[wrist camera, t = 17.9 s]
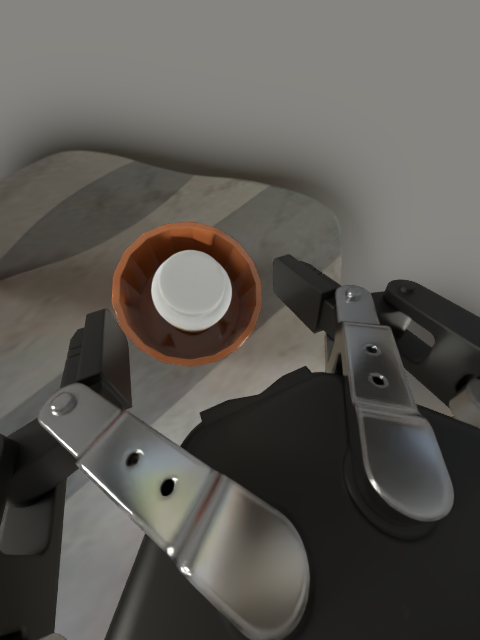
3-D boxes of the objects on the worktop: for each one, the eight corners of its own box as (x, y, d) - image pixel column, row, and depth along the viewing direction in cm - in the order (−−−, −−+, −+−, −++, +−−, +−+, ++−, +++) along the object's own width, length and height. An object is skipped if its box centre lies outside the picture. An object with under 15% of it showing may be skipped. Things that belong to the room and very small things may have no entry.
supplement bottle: (161, 283, 23) (136, 238, 13) (215, 278, 24) (231, 232, 14) (168, 338, 22) (149, 334, 12) (223, 329, 24) (245, 320, 14)
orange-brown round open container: (157, 375, 22) (142, 390, 15) (121, 271, 23) (90, 240, 16) (256, 337, 25) (281, 336, 18) (222, 244, 25) (234, 207, 18)
